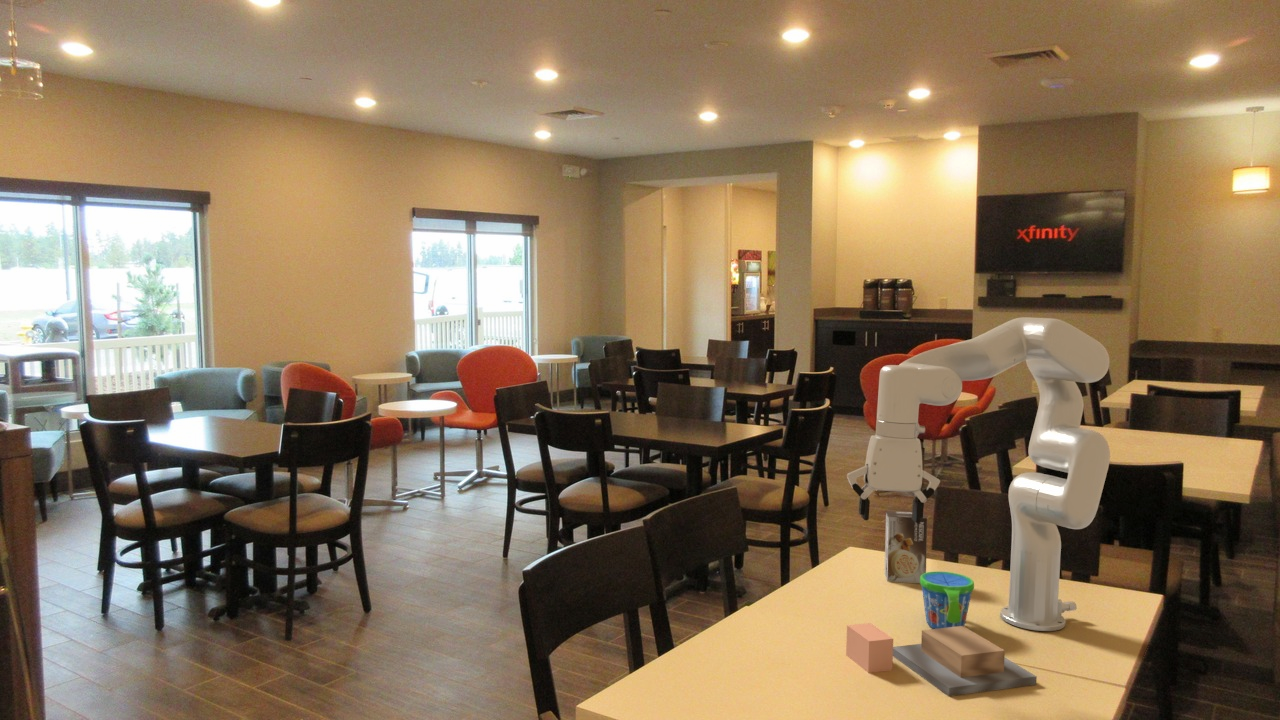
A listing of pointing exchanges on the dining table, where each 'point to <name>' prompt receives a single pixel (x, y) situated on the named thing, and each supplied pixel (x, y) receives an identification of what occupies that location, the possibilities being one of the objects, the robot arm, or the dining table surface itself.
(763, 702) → the dining table surface
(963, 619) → the snack cup
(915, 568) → the coffee box
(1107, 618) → the dining table surface
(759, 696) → the dining table surface
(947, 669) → the base
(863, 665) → the brick
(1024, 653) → the dining table surface
